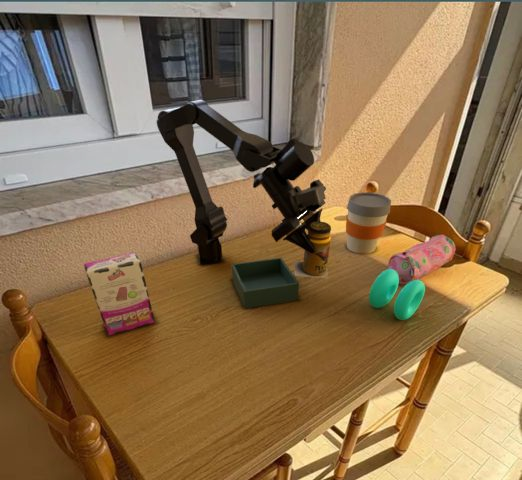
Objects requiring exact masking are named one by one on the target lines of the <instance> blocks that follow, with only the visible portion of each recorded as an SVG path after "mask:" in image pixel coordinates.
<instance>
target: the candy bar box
mask: <svg viewBox="0 0 522 480" xmlns="http://www.w3.org/2000/svg"><path fill="white" fill-rule="evenodd" d="M83 268H84V271H85V274H86V277H87V280H88V284H89V286H90V288H91V292H92V295H93V296H94V300H95V303H96V306H97V309H98V312H99V314H100V318H101V320H102V323H103V326H104V329H105V332H106V335H107V336H113V335H117V334H120V333H124V332H127V331H130V330H133V329H137V328H140V327H144V326H148V325H151V324H154V323H156V320H155V316H154V312H153V307H152V303H151V298H150V296H149V290H148V286H147V282H146V277H145V275H144V269H143V265H142V262H141V259H140V258H139V257H138V255H137V252H129V253H125V254H122V255H116V256H112V257H107V258H103V259H98V260H94V261H90V262H85V263H83Z"/></svg>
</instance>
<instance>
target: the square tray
mask: <svg viewBox="0 0 522 480" xmlns="http://www.w3.org/2000/svg"><path fill="white" fill-rule="evenodd" d="M230 265H231V280H232V281H231V282H232V283H233V285H234V287H235V290H236V292H237V294H238V296H239V298H240V299H239V300H240V301H241V303H242V305H243V308H244V309H251V308H257V307H264V306H269V305H276V304H281V303H289V302H295V301H298V300H299V291H300V283H299V281H298V279H297V278H296V276H295V274H294V273H293V272H292V270H291V269H290V268H289V266H288V264H287V263H286V262H285V261H284V259H283V257H275V258H266V259H259V260H252V261H244V262H237V263H231V264H230Z"/></svg>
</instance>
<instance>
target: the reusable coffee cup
mask: <svg viewBox="0 0 522 480" xmlns="http://www.w3.org/2000/svg"><path fill="white" fill-rule="evenodd" d="M346 205H347V206H346V209H347V214H346V216H345V217H346V219H345V232H346V248H347V249H348V250H349V251H351V252H353V253H355V254H360V255H361V254H362V255H364V254H371V253H373V252H375V251H376V248H377V245H378V243H379V240H380V238H381V237H382V236H383V233H384V231H385V228H386V225H387V222H388V220H387V218H388V215H389V214H390V213H391V205H392V200H391V198H389V197H388V196H386V195H384V194H380V193H376V192H357V193H353V194H351V195H350V196H349V197H348V201H347V204H346Z"/></svg>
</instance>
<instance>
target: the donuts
mask: <svg viewBox="0 0 522 480" xmlns="http://www.w3.org/2000/svg"><path fill="white" fill-rule="evenodd" d="M399 285H400V284H399V276H398V274H397V272H396V271H395V270H393V269H388V268H386V269H385V270H383V271H381V272H380V273H379V275H377V277H376V278H375V279H374V281H373V283H372V285H371V287H370V291H369V295H368V301H369V304H370V306H372V307H373V308H375V309H379V308H383V307H385V306H386V305H388V304H389V303H390V302H391V301H392V299H393V298H394V297H395V294H396V292H397V290H398V288H399ZM425 292H426V285H425V283H424V282H423V281H422V280H419V279H417V280H413V281H411V282H409V283H407V284H404V286H403V287H402V289H401V290H400V291H399V293H398V295H397V296H396V299H395V301H394V305H393V313H394V316H395V318H397V319H398V320H400V321H406V320H409V318H411V317H412V316H413V315H414V314H415V313H416V311H417V310H418V308H419V307H420V306H421V303H422V301H423V298H424V296H425Z"/></svg>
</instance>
